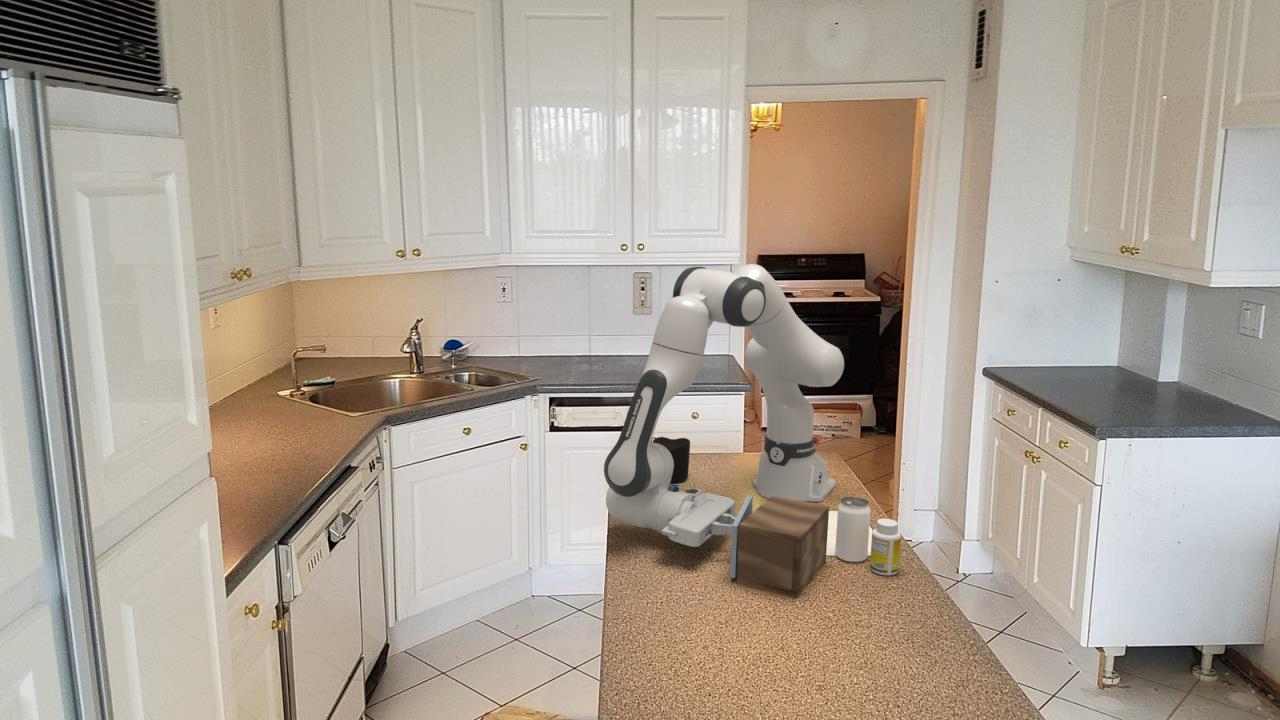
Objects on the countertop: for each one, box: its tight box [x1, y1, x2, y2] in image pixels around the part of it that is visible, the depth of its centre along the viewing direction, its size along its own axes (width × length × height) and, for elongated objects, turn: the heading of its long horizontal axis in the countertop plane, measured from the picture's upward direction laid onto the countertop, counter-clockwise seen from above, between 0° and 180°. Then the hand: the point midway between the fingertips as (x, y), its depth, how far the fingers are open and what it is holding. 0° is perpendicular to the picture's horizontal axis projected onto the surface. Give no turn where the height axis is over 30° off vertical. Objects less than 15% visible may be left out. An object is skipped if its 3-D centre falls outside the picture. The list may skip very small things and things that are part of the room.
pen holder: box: [652, 436, 691, 485], centre depth 232 cm, size 9×9×10 cm
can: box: [834, 496, 871, 564], centre depth 186 cm, size 6×6×12 cm
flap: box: [729, 494, 754, 579], centre depth 181 cm, size 18×1×10 cm, turn 163°
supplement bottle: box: [869, 518, 902, 576], centre depth 179 cm, size 6×6×10 cm
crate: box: [736, 496, 830, 599], centre depth 177 cm, size 18×12×12 cm, turn 152°
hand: (739, 527), depth 184 cm, fingers closed
